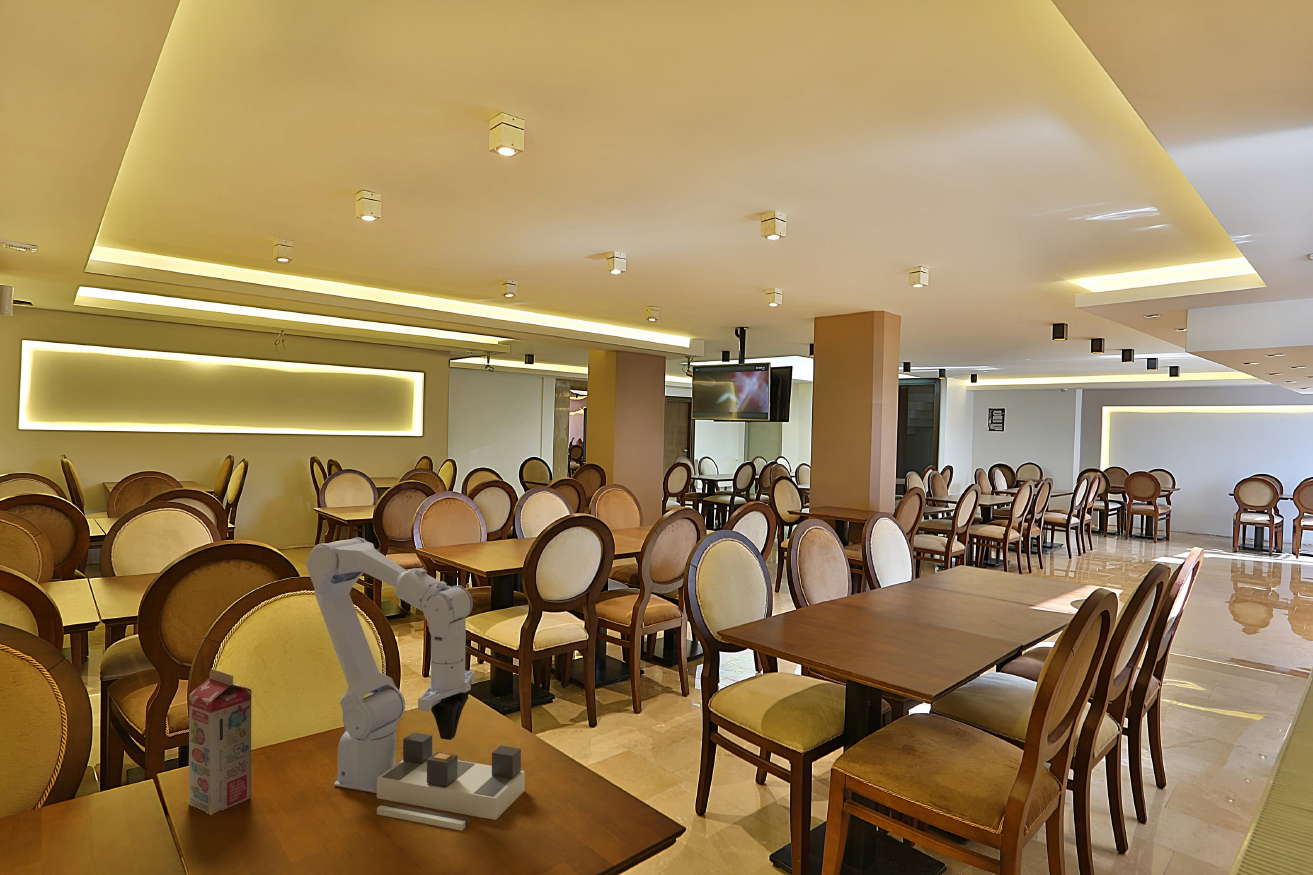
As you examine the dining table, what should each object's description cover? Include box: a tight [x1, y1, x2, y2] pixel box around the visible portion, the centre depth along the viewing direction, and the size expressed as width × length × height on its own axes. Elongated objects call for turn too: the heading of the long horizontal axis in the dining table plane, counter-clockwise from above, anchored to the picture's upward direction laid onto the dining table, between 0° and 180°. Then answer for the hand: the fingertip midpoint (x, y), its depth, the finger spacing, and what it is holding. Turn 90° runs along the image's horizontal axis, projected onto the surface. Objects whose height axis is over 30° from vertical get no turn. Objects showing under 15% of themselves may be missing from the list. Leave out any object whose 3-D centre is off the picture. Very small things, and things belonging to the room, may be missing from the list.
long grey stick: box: [376, 802, 469, 831], centre depth 116 cm, size 16×2×1 cm, turn 73°
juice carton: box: [188, 668, 253, 814], centre depth 121 cm, size 7×7×22 cm
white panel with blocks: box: [376, 732, 526, 821], centre depth 124 cm, size 23×10×8 cm, turn 73°
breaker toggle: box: [427, 751, 459, 787], centre depth 121 cm, size 4×3×4 cm
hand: (447, 737), depth 123 cm, fingers closed
